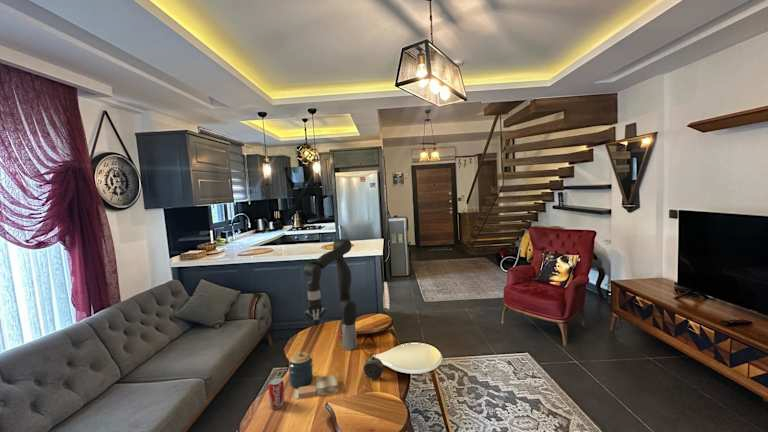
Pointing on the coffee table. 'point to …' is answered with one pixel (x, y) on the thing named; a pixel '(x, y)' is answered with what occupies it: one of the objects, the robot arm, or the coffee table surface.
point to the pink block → (307, 391)
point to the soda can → (276, 392)
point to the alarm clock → (373, 367)
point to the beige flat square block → (326, 385)
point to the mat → (298, 395)
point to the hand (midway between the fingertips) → (316, 325)
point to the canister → (300, 370)
